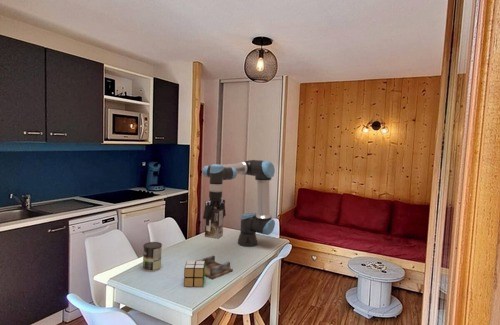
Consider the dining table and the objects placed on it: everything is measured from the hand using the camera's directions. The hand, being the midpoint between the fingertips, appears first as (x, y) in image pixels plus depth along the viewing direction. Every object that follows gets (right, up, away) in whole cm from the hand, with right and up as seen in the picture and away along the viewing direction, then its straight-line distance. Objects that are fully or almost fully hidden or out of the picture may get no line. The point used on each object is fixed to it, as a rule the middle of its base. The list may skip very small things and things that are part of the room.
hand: (214, 229), depth 171 cm
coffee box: (0, -4, 0) cm, 4 cm away
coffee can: (-36, -23, 0) cm, 43 cm away
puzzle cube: (-9, -25, -15) cm, 31 cm away
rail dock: (-1, -24, +1) cm, 25 cm away
